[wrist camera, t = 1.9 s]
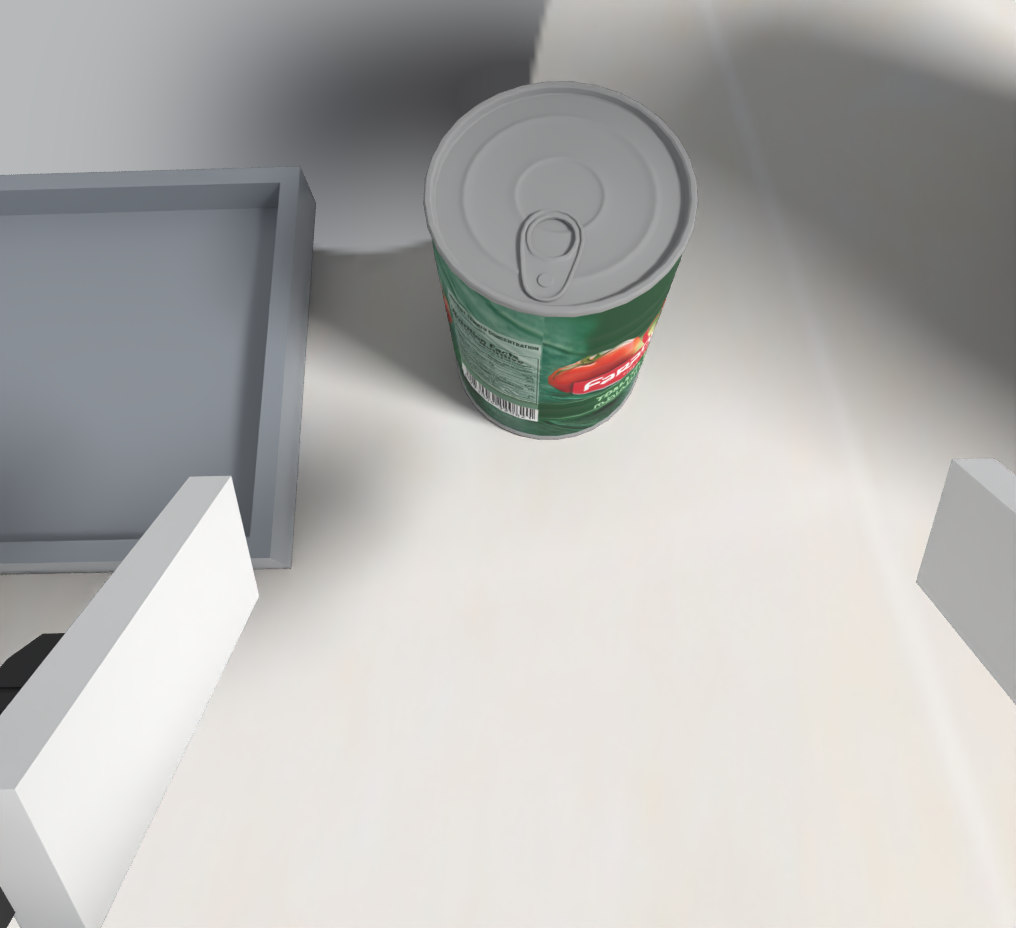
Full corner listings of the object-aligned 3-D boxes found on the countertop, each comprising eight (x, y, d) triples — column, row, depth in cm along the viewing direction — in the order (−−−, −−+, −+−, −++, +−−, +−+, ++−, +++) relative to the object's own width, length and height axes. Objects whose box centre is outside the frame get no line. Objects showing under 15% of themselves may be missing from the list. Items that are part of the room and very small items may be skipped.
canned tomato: (473, 263, 33) (450, 63, 22) (648, 286, 32) (710, 92, 22) (441, 427, 30) (397, 292, 20) (628, 454, 30) (685, 331, 19)
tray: (315, 203, 34) (299, 166, 31) (291, 568, 29) (269, 558, 26) (-46, 213, 34) (-90, 177, 32) (-132, 577, 29) (-191, 568, 27)
